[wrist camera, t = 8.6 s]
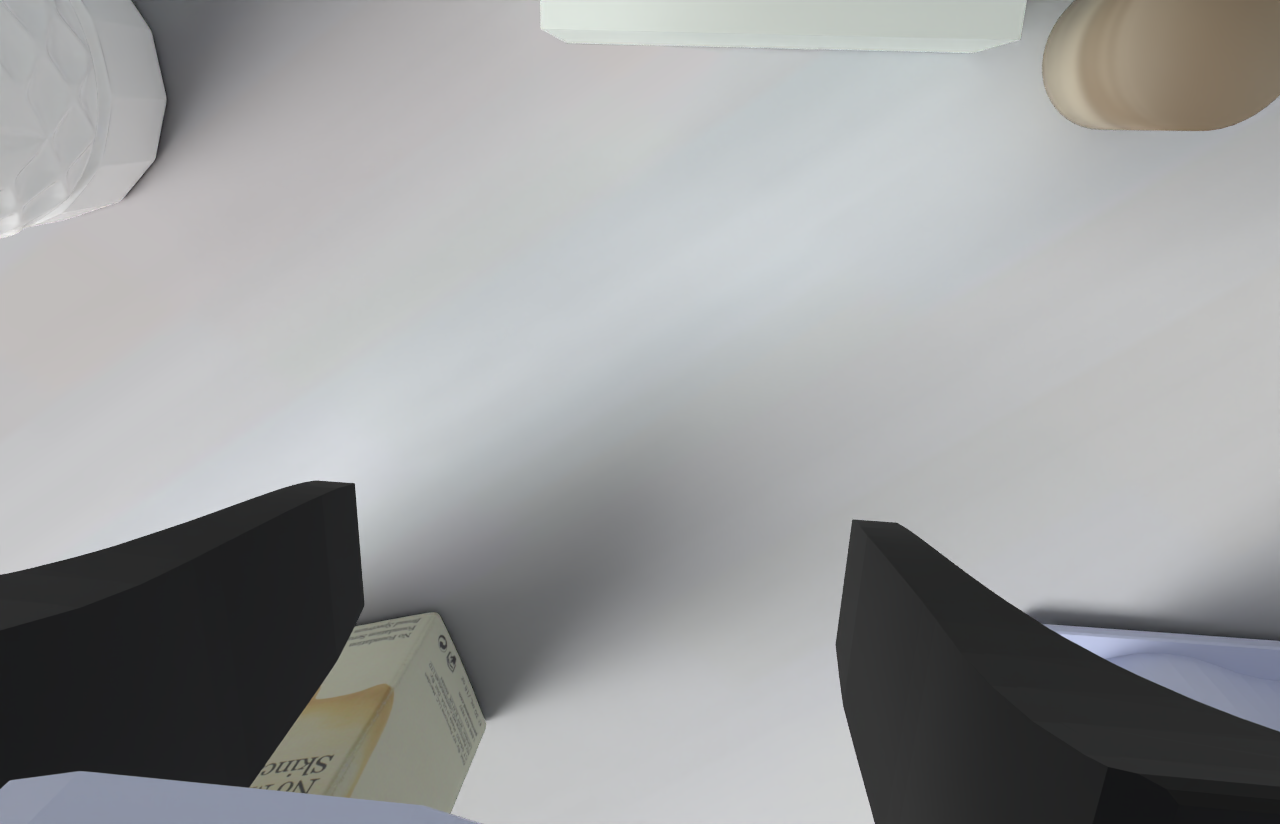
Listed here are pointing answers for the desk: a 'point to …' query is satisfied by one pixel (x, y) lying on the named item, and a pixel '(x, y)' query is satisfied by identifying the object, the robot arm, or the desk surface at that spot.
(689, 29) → the holder block
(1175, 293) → the desk surface
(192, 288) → the desk surface
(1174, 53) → the short maple peg
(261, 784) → the skincare box
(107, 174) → the white cup
